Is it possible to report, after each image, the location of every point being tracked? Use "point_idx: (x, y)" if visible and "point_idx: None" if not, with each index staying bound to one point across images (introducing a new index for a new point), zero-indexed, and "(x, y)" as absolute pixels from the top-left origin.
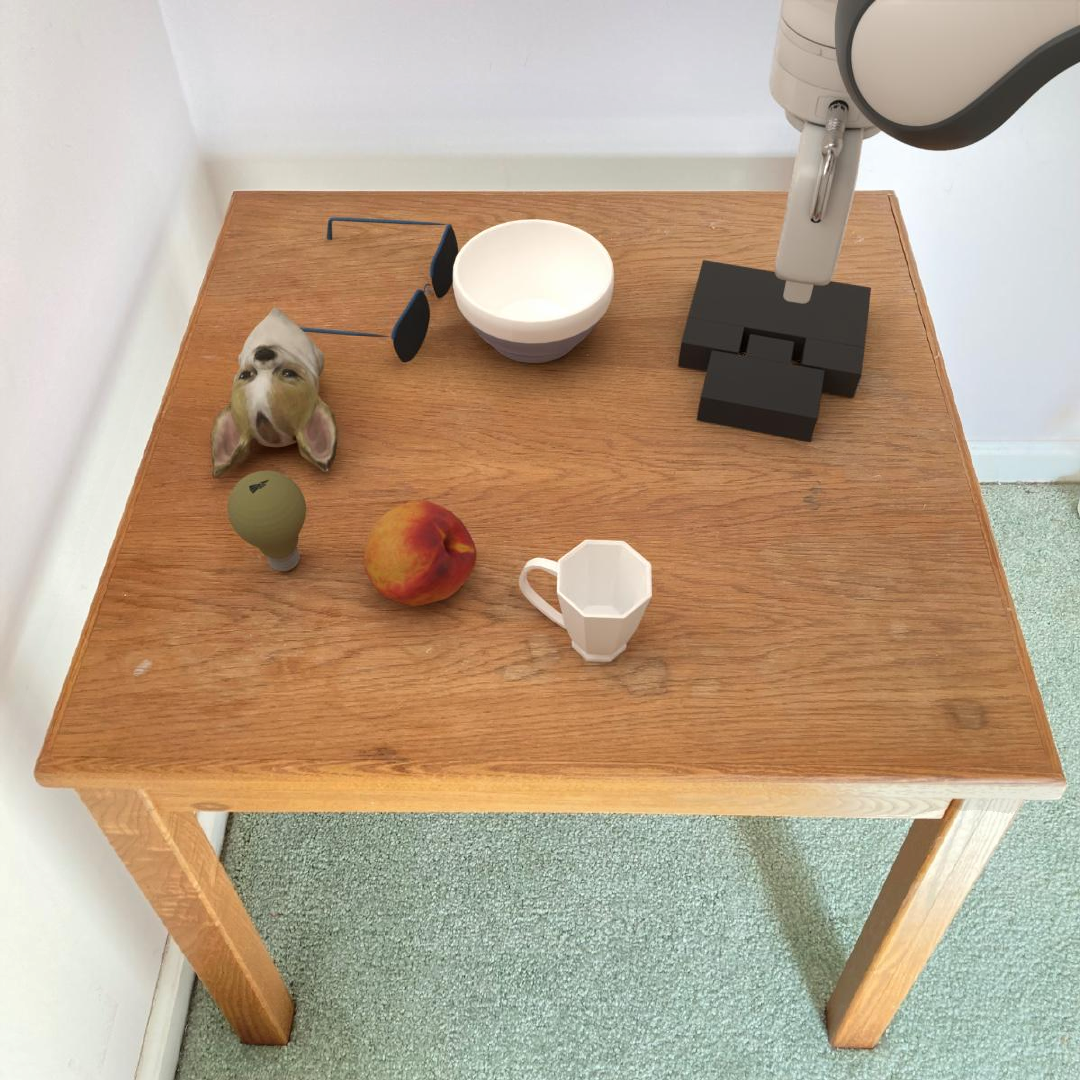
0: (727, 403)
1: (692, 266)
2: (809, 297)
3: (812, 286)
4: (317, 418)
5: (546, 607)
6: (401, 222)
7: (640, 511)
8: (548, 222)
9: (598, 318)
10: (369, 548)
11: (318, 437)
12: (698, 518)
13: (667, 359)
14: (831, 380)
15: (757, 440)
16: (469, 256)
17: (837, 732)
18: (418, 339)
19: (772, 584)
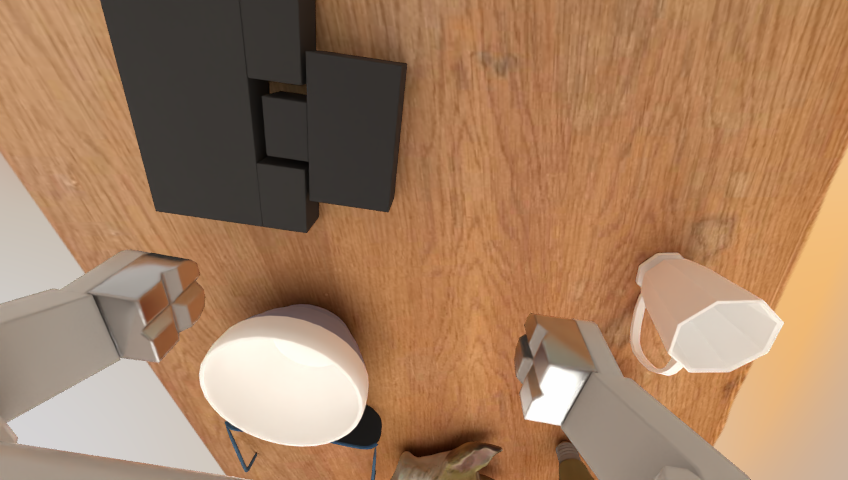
0: (391, 181)
1: None
2: (601, 334)
3: (616, 366)
4: (461, 465)
5: (638, 318)
6: (235, 445)
7: (519, 245)
8: (205, 389)
9: (318, 328)
10: None
11: (470, 455)
12: (528, 193)
13: None
14: (307, 35)
15: (412, 131)
16: (274, 426)
17: (842, 44)
18: None
19: (623, 116)
